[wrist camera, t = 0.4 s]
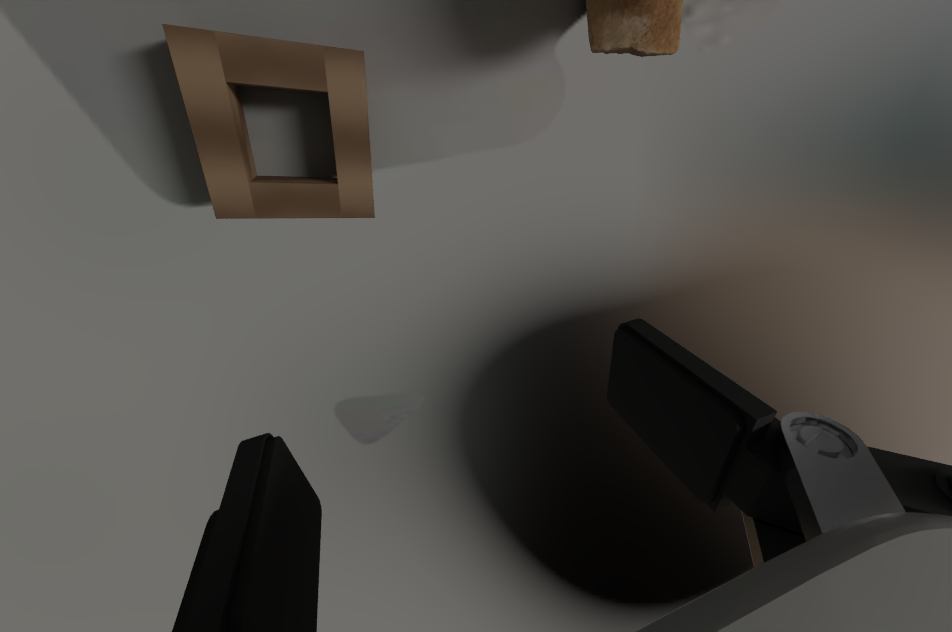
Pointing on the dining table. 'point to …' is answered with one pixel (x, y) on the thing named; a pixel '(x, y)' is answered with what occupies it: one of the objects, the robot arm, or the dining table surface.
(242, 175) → the bottle holder
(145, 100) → the dining table surface
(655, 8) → the brown hollow tube piece
